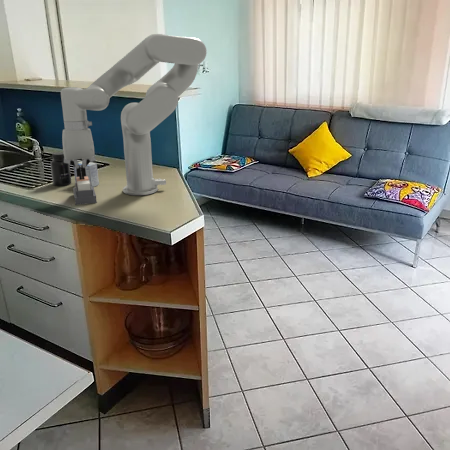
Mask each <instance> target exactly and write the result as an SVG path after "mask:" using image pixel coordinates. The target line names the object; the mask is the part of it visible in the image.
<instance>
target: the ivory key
mask: <svg viewBox="0 0 450 450" xmlns="http://www.w3.org/2000/svg"><path fill="white" fill-rule="evenodd" d="M77 186H78V191H83V190H91V189H90V182H89V180H88V181H77Z"/></svg>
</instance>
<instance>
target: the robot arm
mask: <svg viewBox="0 0 450 450" xmlns="http://www.w3.org/2000/svg"><path fill="white" fill-rule="evenodd" d="M206 57H207V47H206V44H205V43H204V41H202V40H201V39H199V38H196V37H187V36H179V35H177V36H176V35H169V34H163V33H154V34H150V35H148V36H147V37H145V38H144V39H143V40H142V41H141V42H140V43H139V44H137V45H135V46H134V48H132V49H131V50H130V51H129V52H128V53H126V55H124V56H123V57H122V58H121V59H119V60H118V61H117V62H116V63H115V64H113V66H111V67H110V68H109V69H108V70H106V71H105V72H104V73H102V74H101V75H100V76H99V77H98V78H97V79H95V80H94V81H92V83H91V84H89V85H88V87H86V88H81V87H74V86H73V87H71V86H70V87H64V88H62V89H61V91H60V98H61V107H62V117H63V123H64V124H63V125H64V129H62V135H61V136H62V138H61V139H62V140H61V141H62V142H61V143H62V152H63V153H64V163H68V164H70V165H71V166H73V168H74V167H76V170H77V177H79V178H80V179H84V176H86V170H85V168H86V166H87V165H88V164H89V163H90V162H91V163H94V162H96V160H97V159H96V155H95V146H94V140H93V135H92V131H91V128H89V127H90V126H91V127H92V126H93V122H92V121H89V120H88V115H87V111H95V112H96V111H97V112H98V111H103V110H105V109H107V107H108V106H109V103H110V98H112V97H113V96H114V95H115V94H117V93H118V92H119V91H120V90H122V89H124V88H125V87H127V86H130V85H133V84H135V83H136V82H138V81H139V80H140V79H141V78H142V77H144V76H145V75H146V74H147V73H148V72H150V70H152V69H153V68H154V67H155V66H157V65H158V64H159V63H166V64H167V63H168V64H174V65H173V66H172V68H170V70H169V71H168V72H166V73H165V74H164V75H163V76H162V77H161V78H159V80H157V81H155V83H154V84H152V85H151V86H149V88H148V89H147V90H146V92H145V97H144V98H142V100H141V101H139V102H130V103H129V102H128V104H126V105H124V107H123V108H122V111H121V112H120V123H121V124H120V125H121V130H122V131H121V132H122V139H123V141H122V142H123V153H124V165H125V176H126V178H125V179H126V185H125V186H123V188H122V191H123V194H125V195H129V196H147V195H151V194H155V193H156V192H157V191H158V190H159V189H158V185H161V186H162V185H167V180H166V179H165V178H164V179H162V178H154V175H153V161H152V160H153V157H152V142H151V141H152V140H151V131H153V130H154V129H155V128H156V127H157V126H159V125H160V124H161V123H163V122H164V120H166V119H167V118H168V117H169V116H170V115H172V113H173V112H174V111H175V110H176V109H177V106H178V104H179V97H181V95H182V94H184V93H185V91H186V90H187V89H189V88H190V86H191V85H192V84H193V83H194V81H195V80H196V77H197V73H198V69H199V64H202V63H203V61H204V60H205V59H206ZM78 160H79V161H80V160H82V165H81V168H80V165H79V164H78V162H79V161H78ZM81 174H82V176H81Z"/></svg>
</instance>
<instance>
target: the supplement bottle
mask: <svg viewBox="0 0 450 450" xmlns="http://www.w3.org/2000/svg"><path fill="white" fill-rule="evenodd" d="M51 155H52V159H53V160H52V161H50V170H51V178H52V184H53V186H56V187H65V186H66V187H67V186H69V185H71V184H72V175H71V167H70V165H71V164H68V163H64V153H63V151H62V152H61V151H60V152H59V151H58V152H53V153H52V154H51Z"/></svg>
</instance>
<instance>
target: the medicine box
mask: <svg viewBox="0 0 450 450" xmlns="http://www.w3.org/2000/svg"><path fill="white" fill-rule="evenodd" d="M78 164H79V165H80V168H81V165H82V161H80V160H79V161H78ZM85 170H86V176H88V178H89V182H91V185H92V186H93V187H94V188H95V187H97V186H100V181H99V172H98V164H97V162H90V163H89V164H88V165H87V166H86V168H85ZM73 172H74V180H75V181H74V183H77V180H76V177H77V170H76V167H74V166H73ZM81 176H82V174H81ZM86 176H84V177H86Z"/></svg>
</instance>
